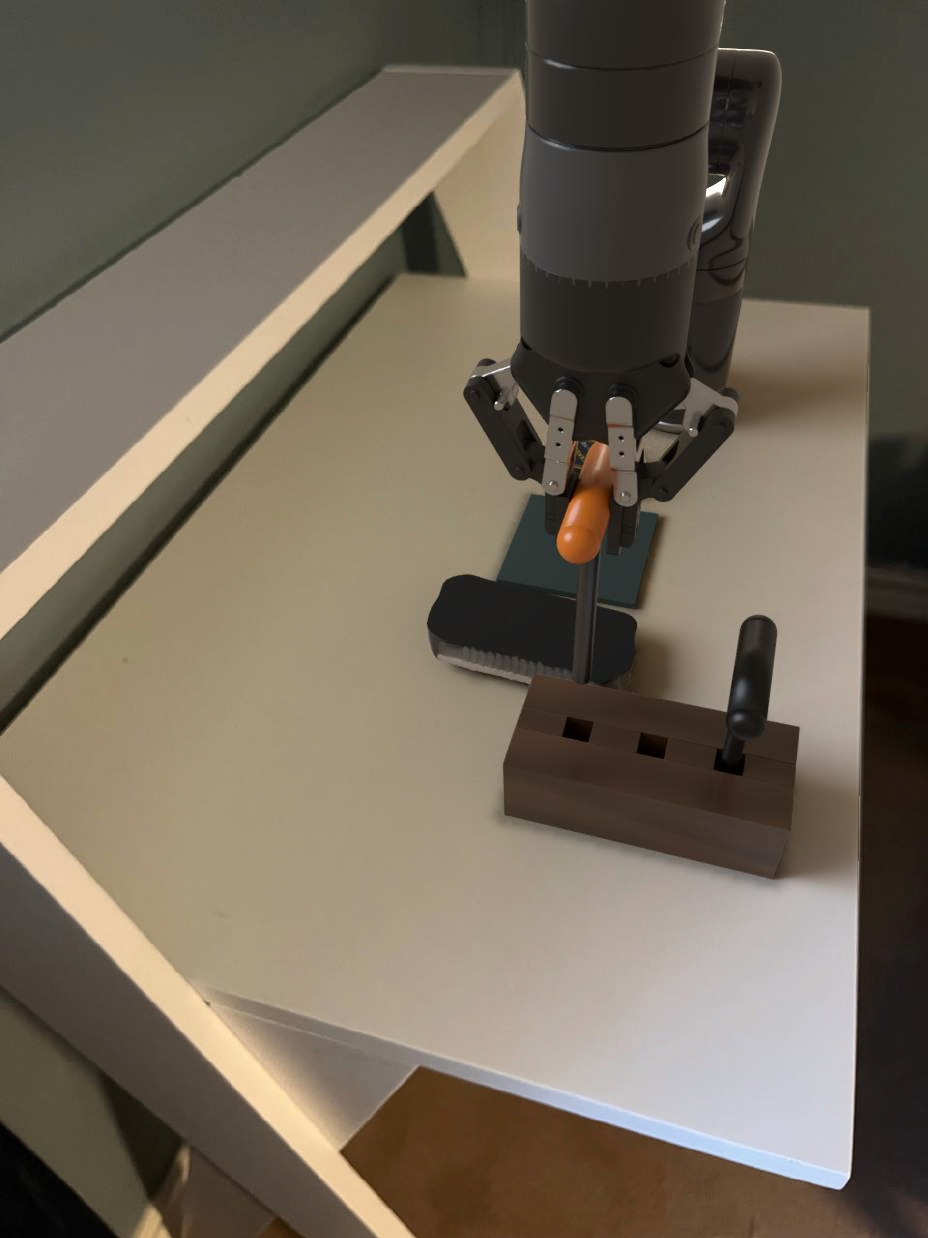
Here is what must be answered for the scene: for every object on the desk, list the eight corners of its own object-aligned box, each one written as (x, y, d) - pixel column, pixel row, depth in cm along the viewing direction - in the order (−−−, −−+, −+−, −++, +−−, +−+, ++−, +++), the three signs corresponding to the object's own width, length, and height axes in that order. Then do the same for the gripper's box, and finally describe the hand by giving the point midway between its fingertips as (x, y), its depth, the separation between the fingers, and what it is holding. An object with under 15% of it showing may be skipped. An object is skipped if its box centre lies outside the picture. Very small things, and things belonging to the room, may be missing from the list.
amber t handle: (580, 623, 64) (591, 428, 53) (613, 629, 64) (631, 433, 53) (547, 730, 58) (552, 536, 47) (582, 738, 58) (596, 543, 47)
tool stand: (533, 724, 73) (533, 672, 68) (782, 778, 68) (800, 726, 64) (504, 814, 67) (502, 764, 63) (772, 879, 63) (790, 830, 59)
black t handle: (709, 756, 70) (744, 604, 58) (740, 763, 69) (782, 610, 58) (691, 866, 64) (726, 720, 53) (724, 874, 63) (768, 728, 52)
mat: (531, 498, 91) (531, 493, 91) (658, 518, 88) (658, 513, 88) (496, 583, 83) (496, 578, 83) (634, 609, 80) (634, 604, 80)
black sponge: (419, 665, 77) (416, 634, 74) (457, 595, 82) (455, 563, 80) (618, 719, 73) (622, 688, 70) (645, 640, 78) (650, 609, 75)
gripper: (787, 206, 41) (727, 517, 54) (476, 182, 44) (488, 480, 57) (772, 291, 36) (709, 611, 49) (424, 256, 39) (449, 565, 52)
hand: (590, 539), depth 53 cm, fingers closed on amber t handle, 2 cm apart
